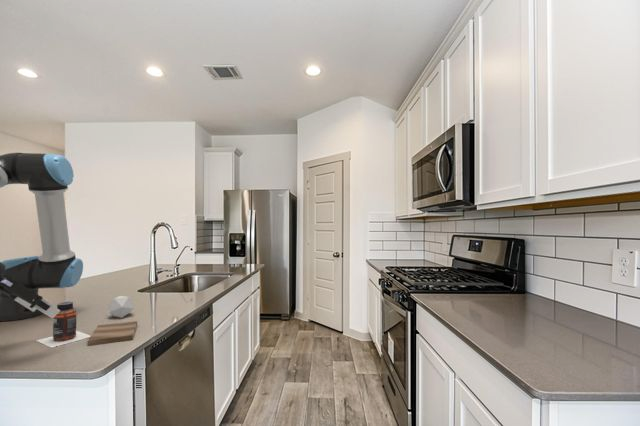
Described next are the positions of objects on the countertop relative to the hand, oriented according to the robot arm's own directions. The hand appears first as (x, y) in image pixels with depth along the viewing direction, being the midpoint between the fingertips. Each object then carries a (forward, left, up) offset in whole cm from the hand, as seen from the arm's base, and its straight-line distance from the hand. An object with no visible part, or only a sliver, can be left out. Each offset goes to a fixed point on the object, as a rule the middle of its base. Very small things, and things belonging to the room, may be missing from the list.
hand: (46, 311), depth 99 cm
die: (-25, +17, -11) cm, 32 cm away
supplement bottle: (-4, +4, -10) cm, 12 cm away
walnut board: (-2, +18, -10) cm, 21 cm away
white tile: (-4, +4, -10) cm, 12 cm away
